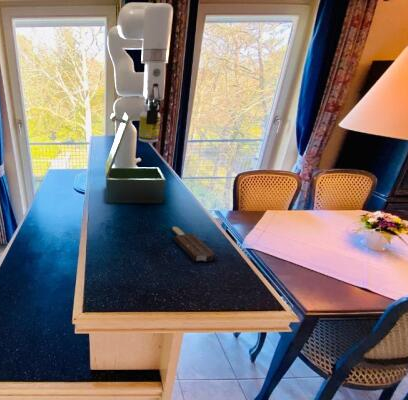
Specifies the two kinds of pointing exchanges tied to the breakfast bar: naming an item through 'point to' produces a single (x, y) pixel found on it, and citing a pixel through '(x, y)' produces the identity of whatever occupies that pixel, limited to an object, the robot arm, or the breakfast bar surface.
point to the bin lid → (116, 141)
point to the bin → (135, 185)
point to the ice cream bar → (193, 246)
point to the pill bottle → (148, 127)
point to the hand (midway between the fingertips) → (149, 121)
